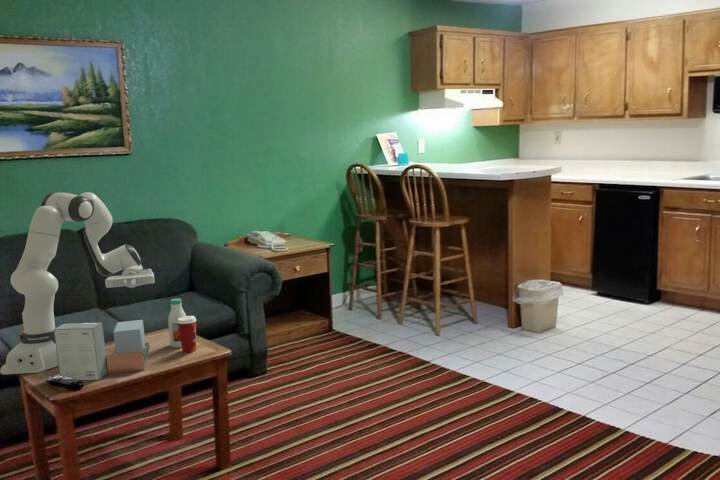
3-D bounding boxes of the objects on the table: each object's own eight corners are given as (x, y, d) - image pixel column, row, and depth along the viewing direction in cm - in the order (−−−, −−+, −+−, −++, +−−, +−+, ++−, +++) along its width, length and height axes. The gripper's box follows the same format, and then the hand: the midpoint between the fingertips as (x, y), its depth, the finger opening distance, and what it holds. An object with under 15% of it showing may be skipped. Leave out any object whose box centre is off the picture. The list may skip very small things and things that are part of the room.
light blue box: (115, 353, 259) (113, 331, 257) (119, 343, 272) (117, 322, 271) (142, 350, 261) (140, 329, 259) (144, 340, 274) (142, 319, 273)
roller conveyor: (108, 374, 246) (106, 356, 245) (117, 350, 274) (115, 334, 272) (144, 369, 249) (142, 352, 248) (149, 346, 276) (148, 331, 275)
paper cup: (201, 351, 268) (198, 318, 266) (183, 355, 264) (180, 321, 262) (194, 346, 275) (192, 314, 272) (177, 350, 271) (174, 317, 268)
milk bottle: (167, 348, 274) (163, 301, 271) (175, 342, 282) (171, 297, 278) (184, 348, 273) (180, 301, 270) (192, 342, 280) (188, 297, 277)
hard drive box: (109, 373, 247) (103, 322, 244) (99, 380, 240) (93, 328, 237) (70, 373, 249) (64, 322, 246) (59, 380, 242) (52, 328, 238)
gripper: (106, 272, 286) (101, 279, 273) (154, 268, 291) (152, 274, 278) (107, 286, 288) (103, 293, 274) (156, 282, 292) (154, 289, 279)
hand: (128, 284), depth 276 cm, fingers closed
